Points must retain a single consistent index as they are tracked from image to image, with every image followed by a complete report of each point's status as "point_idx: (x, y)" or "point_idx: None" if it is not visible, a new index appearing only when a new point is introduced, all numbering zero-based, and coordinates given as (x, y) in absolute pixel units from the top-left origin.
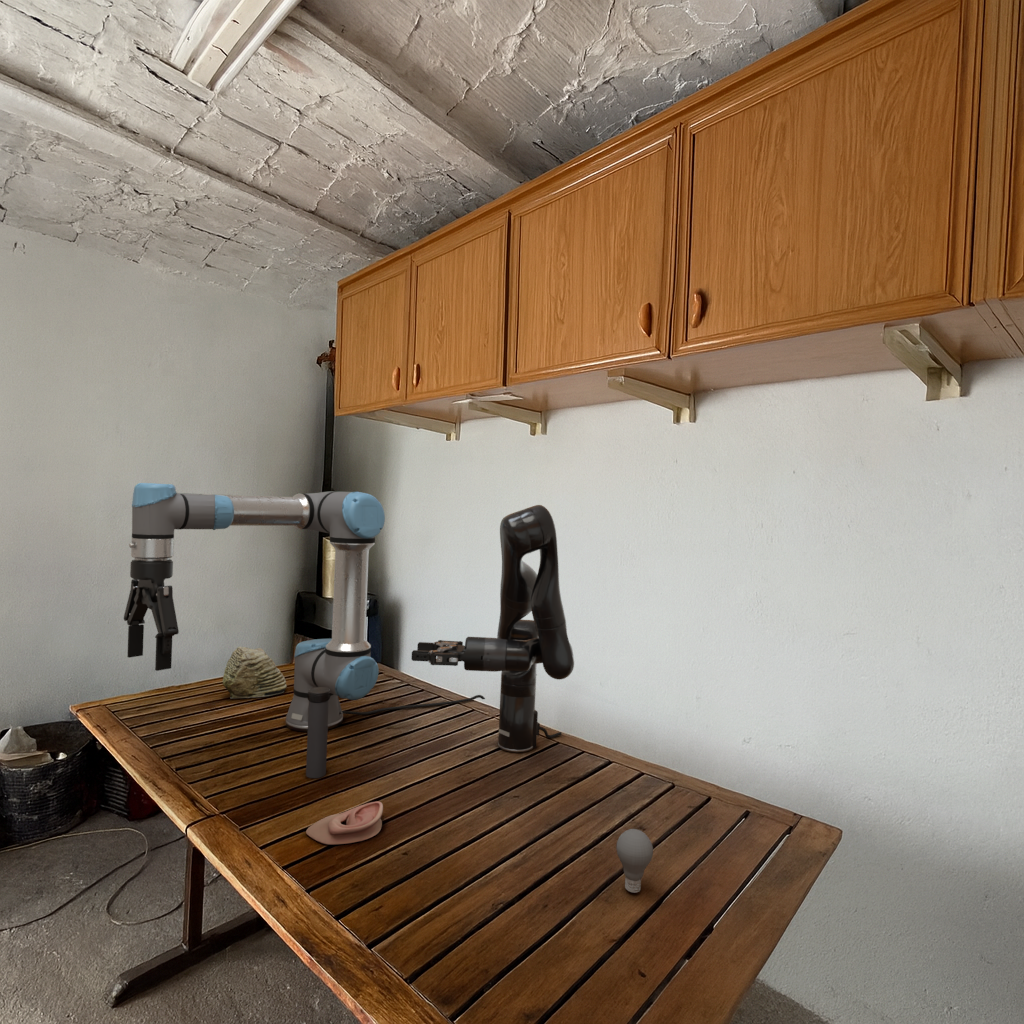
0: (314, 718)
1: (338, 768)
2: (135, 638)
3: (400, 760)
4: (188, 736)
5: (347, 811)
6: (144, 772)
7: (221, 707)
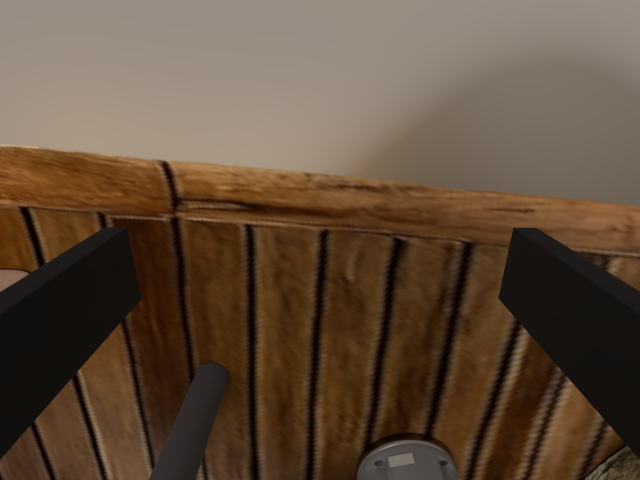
0: (161, 457)
1: None
2: (581, 325)
3: None
4: None
5: None
6: (433, 194)
7: None
